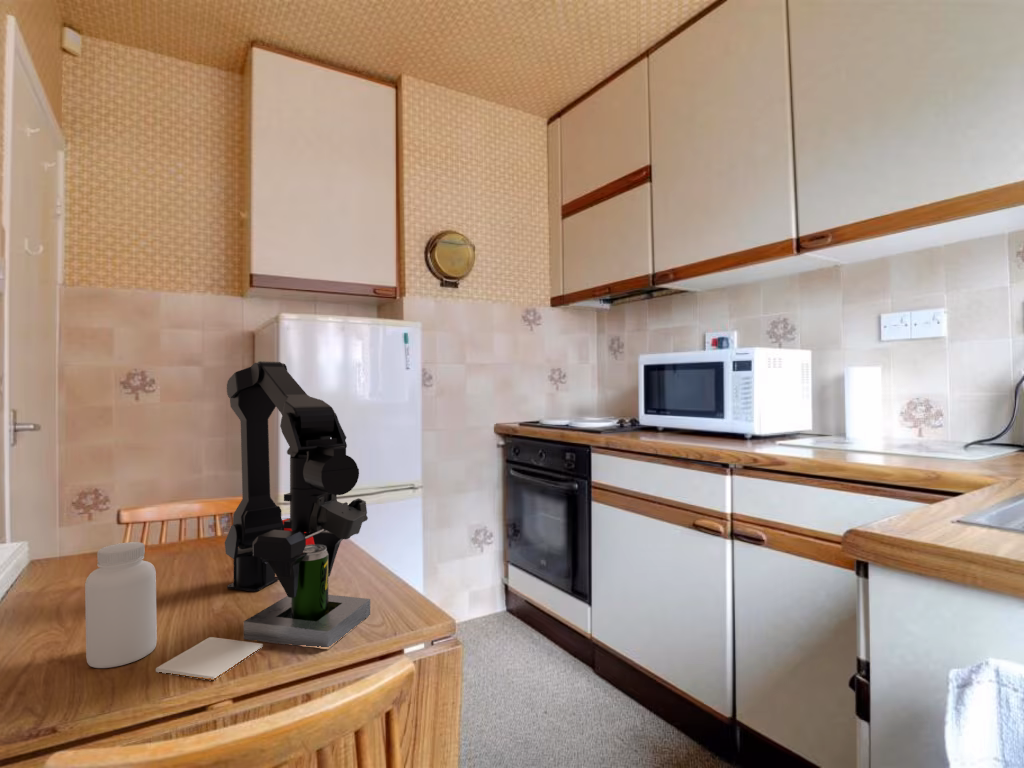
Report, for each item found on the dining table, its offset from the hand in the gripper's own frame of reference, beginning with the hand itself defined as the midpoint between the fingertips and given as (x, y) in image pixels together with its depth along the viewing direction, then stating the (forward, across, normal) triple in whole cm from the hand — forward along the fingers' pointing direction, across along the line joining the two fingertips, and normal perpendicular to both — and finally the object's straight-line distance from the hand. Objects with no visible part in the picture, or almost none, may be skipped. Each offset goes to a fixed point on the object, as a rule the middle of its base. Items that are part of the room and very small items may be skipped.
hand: (309, 586), depth 84 cm
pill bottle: (+6, -14, +20) cm, 25 cm away
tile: (+6, -12, +7) cm, 15 cm away
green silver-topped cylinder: (+6, 0, 0) cm, 6 cm away
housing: (+6, 0, 0) cm, 6 cm away
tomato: (+6, +31, +25) cm, 40 cm away
